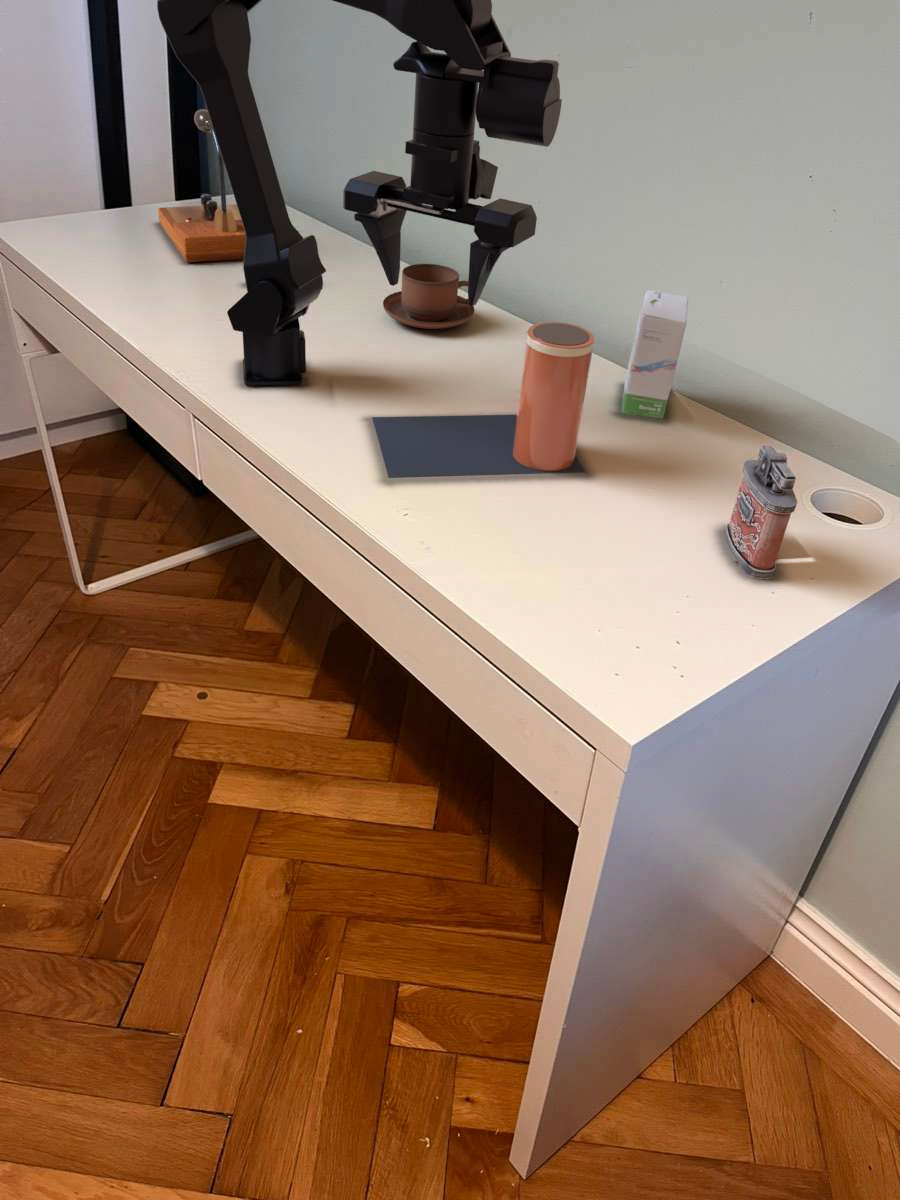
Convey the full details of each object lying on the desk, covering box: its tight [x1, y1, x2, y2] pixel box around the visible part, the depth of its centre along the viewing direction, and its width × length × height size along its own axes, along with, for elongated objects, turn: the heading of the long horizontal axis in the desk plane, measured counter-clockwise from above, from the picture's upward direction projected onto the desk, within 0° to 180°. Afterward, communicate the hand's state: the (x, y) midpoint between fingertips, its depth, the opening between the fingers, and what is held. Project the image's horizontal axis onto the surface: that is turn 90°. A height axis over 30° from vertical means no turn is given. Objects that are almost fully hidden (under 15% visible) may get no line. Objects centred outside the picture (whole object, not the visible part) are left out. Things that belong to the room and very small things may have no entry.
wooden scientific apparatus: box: [157, 108, 246, 264], centre depth 142 cm, size 14×30×18 cm, turn 24°
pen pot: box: [512, 321, 596, 471], centre depth 98 cm, size 6×6×13 cm
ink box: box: [621, 290, 689, 419], centre depth 111 cm, size 9×5×12 cm, turn 168°
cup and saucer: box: [382, 263, 475, 330], centre depth 129 cm, size 12×12×6 cm
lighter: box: [724, 444, 798, 580], centre depth 87 cm, size 8×3×10 cm, turn 5°
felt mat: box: [371, 414, 586, 479], centre depth 103 cm, size 20×13×1 cm, turn 101°
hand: (432, 294), depth 102 cm, fingers open, 9 cm apart
